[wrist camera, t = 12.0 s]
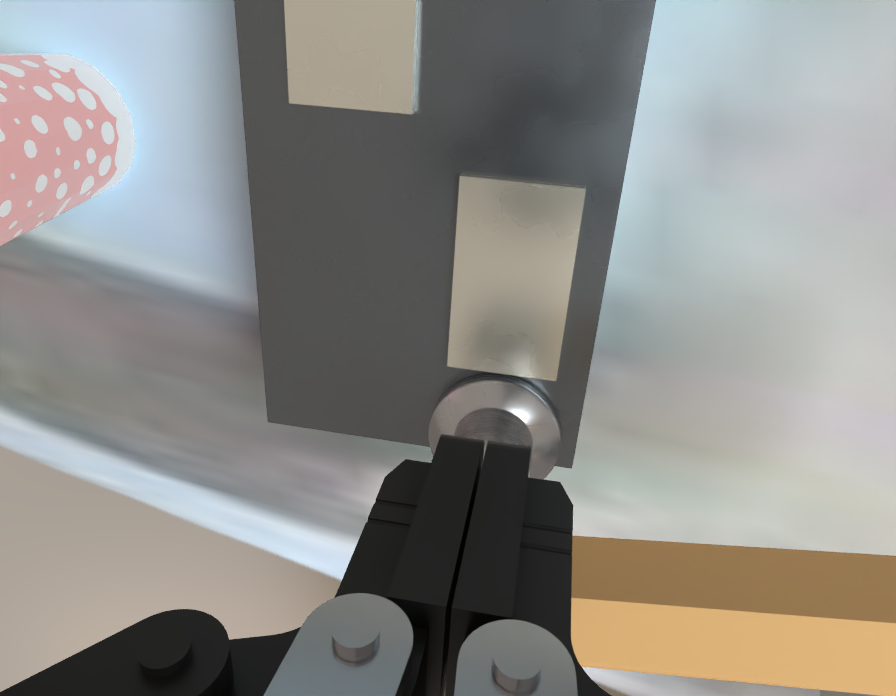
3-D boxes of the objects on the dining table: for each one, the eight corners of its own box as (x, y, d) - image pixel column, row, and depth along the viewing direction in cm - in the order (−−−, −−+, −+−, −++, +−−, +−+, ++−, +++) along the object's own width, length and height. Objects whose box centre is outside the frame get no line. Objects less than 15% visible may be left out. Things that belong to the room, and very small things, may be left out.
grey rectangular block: (284, -242, 18) (23, -450, 9) (681, -232, 16) (781, -462, 8) (311, 386, 26) (188, 563, 18) (569, 424, 25) (563, 631, 17)
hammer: (1114, 527, 13) (1214, 626, 11) (1054, 654, 15) (1132, 763, 13) (390, 489, 16) (361, 564, 14) (406, 600, 18) (382, 682, 16)
